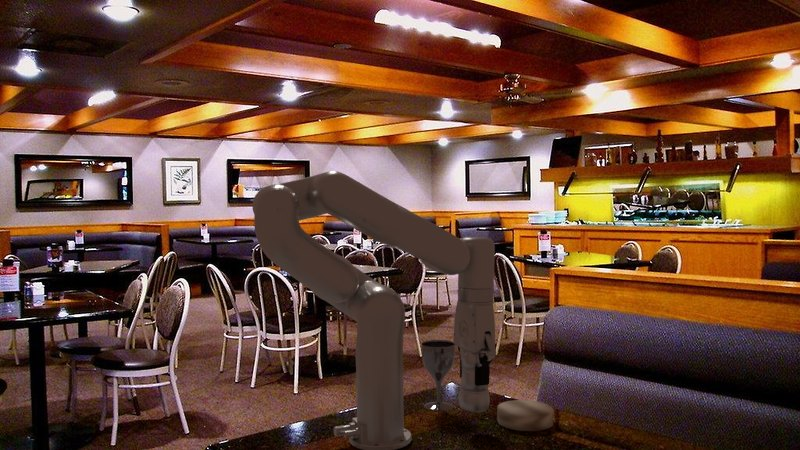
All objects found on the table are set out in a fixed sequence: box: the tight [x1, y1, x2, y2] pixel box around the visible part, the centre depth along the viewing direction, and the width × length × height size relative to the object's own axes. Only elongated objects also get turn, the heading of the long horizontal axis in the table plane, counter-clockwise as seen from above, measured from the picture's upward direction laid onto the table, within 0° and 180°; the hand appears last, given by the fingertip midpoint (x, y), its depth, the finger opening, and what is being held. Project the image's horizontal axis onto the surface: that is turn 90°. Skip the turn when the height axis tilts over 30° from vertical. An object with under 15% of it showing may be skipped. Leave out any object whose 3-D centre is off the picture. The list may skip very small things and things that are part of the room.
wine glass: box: [420, 339, 456, 412], centre depth 158 cm, size 8×8×15 cm
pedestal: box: [496, 399, 554, 432], centre depth 146 cm, size 12×12×3 cm
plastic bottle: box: [457, 336, 491, 413], centre depth 141 cm, size 6×7×20 cm
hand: (474, 380), depth 141 cm, fingers closed on plastic bottle, 5 cm apart
